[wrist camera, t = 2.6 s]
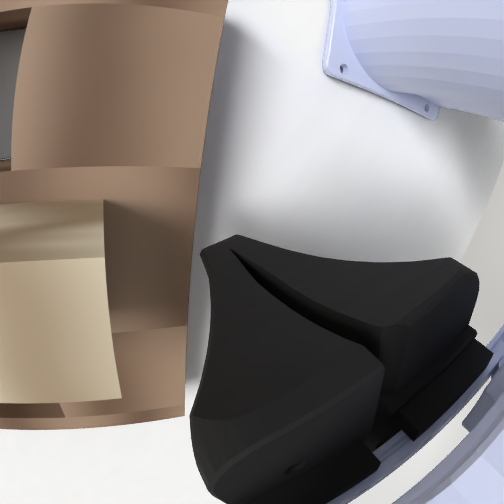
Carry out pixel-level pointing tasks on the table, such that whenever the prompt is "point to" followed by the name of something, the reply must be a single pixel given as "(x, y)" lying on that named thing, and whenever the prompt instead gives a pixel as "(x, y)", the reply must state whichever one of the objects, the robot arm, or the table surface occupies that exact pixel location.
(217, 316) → the robot arm
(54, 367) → the maple block
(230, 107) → the table surface
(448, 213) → the table surface
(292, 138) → the table surface
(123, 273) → the box
